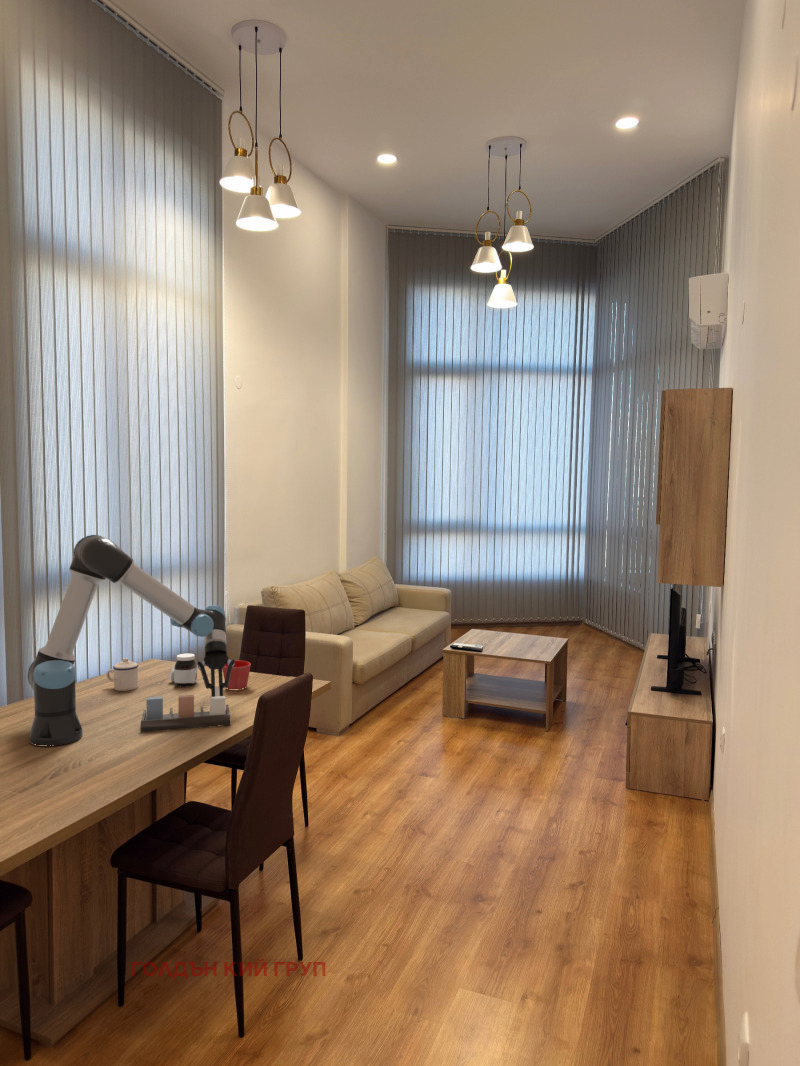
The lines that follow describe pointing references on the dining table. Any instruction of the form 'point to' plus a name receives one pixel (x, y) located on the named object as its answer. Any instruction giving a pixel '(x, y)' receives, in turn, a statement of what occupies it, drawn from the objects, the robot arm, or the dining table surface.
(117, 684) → the teacup with lid
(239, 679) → the flower pot
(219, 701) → the key offwhite
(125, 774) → the dining table surface
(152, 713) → the key slate
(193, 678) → the spread jar
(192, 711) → the key terracotta
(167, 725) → the grey compartment tray
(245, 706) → the dining table surface
